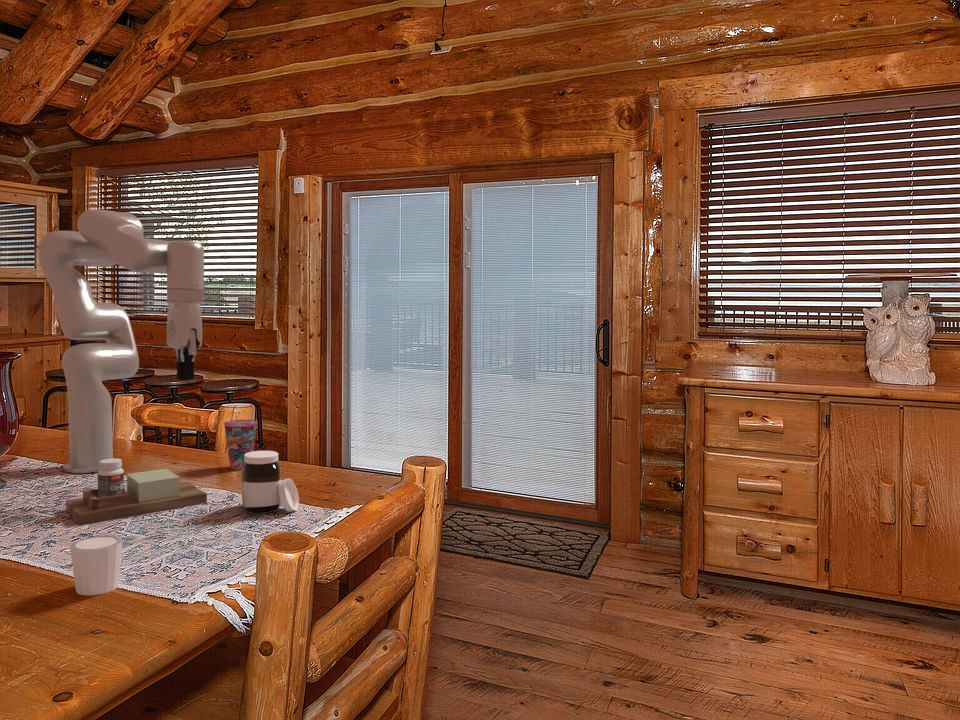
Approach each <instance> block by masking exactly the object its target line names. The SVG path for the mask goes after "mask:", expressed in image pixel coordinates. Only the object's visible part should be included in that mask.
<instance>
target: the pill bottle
mask: <svg viewBox="0 0 960 720" xmlns="http://www.w3.org/2000/svg"><path fill="white" fill-rule="evenodd" d="M99 467H100V469H101V470H99V471H98V472H97V488H98V498H101V497H107V496H114V495H120V494H124V487H125V470H124V469H123V468H122V467H123V463H122V459H121V458H117V457H116V458H114V457H113V459H104V460H101V461H100V462H99Z"/></svg>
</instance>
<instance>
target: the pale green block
mask: <svg viewBox="0 0 960 720" xmlns="http://www.w3.org/2000/svg"><path fill="white" fill-rule="evenodd" d="M180 483H181V476H180V475H177V474H175V473H174V472H173V471H170V470H169V469H168V468H162V469H161V468H159V469H153V470H148V471H141V472H140V471H139V472H133V473H126V491H127V493H134V494H135V499H136V500H137V501H138V502H145V501H151V500H157V499H163V498H169V497H175V496H180Z"/></svg>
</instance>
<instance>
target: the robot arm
mask: <svg viewBox="0 0 960 720" xmlns="http://www.w3.org/2000/svg"><path fill="white" fill-rule="evenodd" d="M76 228H77V231H75V230H55V231H51V232H48V233H46V234H45V235H43V236H42V238H41V239H40V242H39V246H38V259H39V264H40V265H39V266H40V268H41V270H42V272H43V274H44V276H45V278H46V280H47V282H48V284H49V286H50V289H51V292H52V297H53V301H54V303H55V304H54V305H55V309H56V313H57V317H58V321H59V325H60V328H61V331H62V333H63V335H64V336H65V338H67V339H68V340H74V341H96V340H97V341H98V340H101V341H102V340H104V341H105V342H104V343H103V342H98V343H97V342H95V343H79V344H76V345H73V346H70V347H69V348H67V349H66V350H65V352H64V353H63V355H62V360H61V363H62V369H63V375H64V376H65V381H66V382H65V383H66V389H67V403H68V404H67V406H68V407H67V408H68V437H69V439H68V441H69V445H68V446H69V462H66V463H64V464H63V465H62V471H64V472H65V471H66V472H65V473H69V472H71V474H90V473H91V474H92V472H94V473H98V471H99V470H101V469H100V467H99V462H100V461H101V460H104V459H113V458H114V449H113V447H114V446H113V445H114V443H113V442H114V440H113V438H114V437H113V404H112V401H113V399H112V396H111V394H110V392H109V390H108V389H107V387H105V385H104V384H103V382H105V381H109V380H111V381H112V380H121V379H128V378H131V377H133V376H134V375H136V373H137V372H138V371H139V368H140V367H139V366H140V357H139V352H138V347H137V343H136V339H135V336H134V332H133V327H132V323H131V320H130V317H129V314H128V313H127V311H126V310H125V309H124V308H123V306H121V305H119V304H117V303H112V302H97V301H95V299H94V296H93V293H92V292H93V291H92V288H91V285H90V283H89V282H88V280H87V279H86V278H85V277H84V275H83V274H82V273H81V272H79V271H78V270H77V269H76V268H75V266H80V267H96V268H97V267H98V268H109V267H113V266H115V265H118V266H119V267H122V268H123V269H126V270H129V271H131V272H135V273H143V274H145V273H149V274H161V275H166V304H168V309H167V310H168V311H167V320H166V321H167V323H166V345H167V346H168V347H170V348H173V349H174V351H175V353H176V379H177V380H179V381H190V380H194V379H195V359H196V358H195V357H196V356H197V349H200V348H201V347H202V343H203V318H202V308H201V307H202V306H201V305H204V304H205V303H204V302H205V289H204V288H205V249H204V245H203V244H202V243H201V242H196V241H192V240H164V239H155V238H147V237H146V238H145V237H144V233H145V231H144V225H143V223H142V221H141V220H140V219H139V218H138V217H137V216H135V215H134V214H131V213H128V212H121V211H115V210H114V211H113V210H107V209H99V208H97V209H96V208H95V209H89V210H86V211H84V212H82V213H81V214H80V215H79V216H78V218H77V221H76Z"/></svg>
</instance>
